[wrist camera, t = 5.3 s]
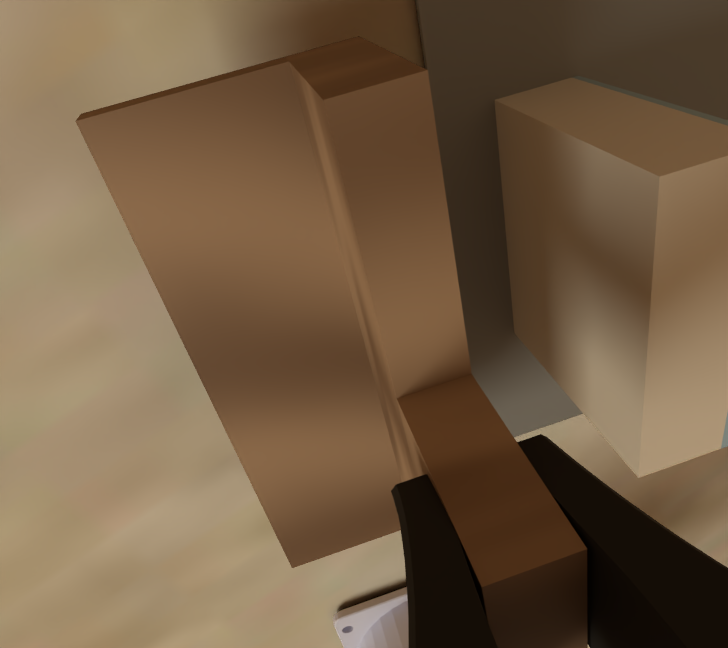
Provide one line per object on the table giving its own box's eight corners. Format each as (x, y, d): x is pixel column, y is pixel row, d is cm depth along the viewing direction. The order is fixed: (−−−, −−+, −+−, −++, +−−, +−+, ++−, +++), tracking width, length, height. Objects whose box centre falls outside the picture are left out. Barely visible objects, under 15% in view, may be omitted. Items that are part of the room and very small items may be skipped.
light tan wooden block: (580, 311, 21) (727, 446, 15) (514, 333, 21) (638, 477, 15) (578, 75, 16) (786, 137, 11) (494, 99, 16) (659, 177, 10)
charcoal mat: (815, 329, 25) (820, 332, 25) (479, 444, 23) (481, 448, 23) (969, -250, 15) (978, -253, 15) (399, -104, 14) (402, -105, 13)
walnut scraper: (450, 496, 19) (587, 785, 13) (289, 552, 19) (341, 883, 12) (358, 36, 12) (585, 147, 5) (80, 113, 11) (-101, 356, 4)
